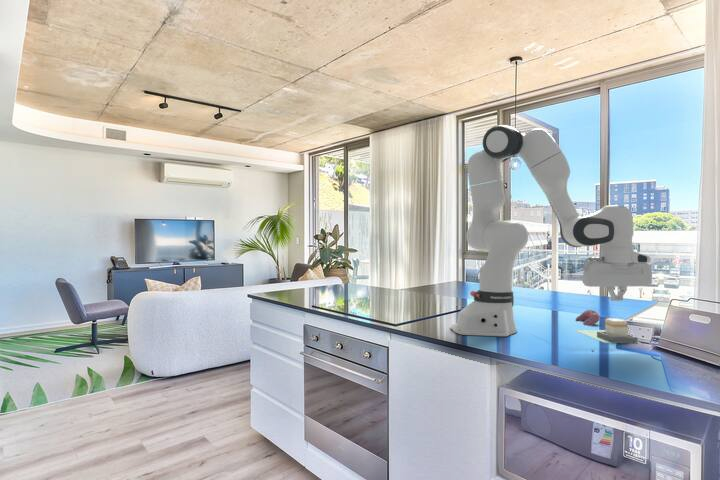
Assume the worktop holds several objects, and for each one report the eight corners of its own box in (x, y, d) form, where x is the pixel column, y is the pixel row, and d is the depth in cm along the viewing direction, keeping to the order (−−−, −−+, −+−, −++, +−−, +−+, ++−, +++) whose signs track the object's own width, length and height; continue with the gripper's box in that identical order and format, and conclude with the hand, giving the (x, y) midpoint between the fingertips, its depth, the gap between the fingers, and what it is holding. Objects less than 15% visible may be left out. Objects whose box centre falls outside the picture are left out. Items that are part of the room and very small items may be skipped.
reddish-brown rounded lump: (595, 332, 149) (604, 315, 148) (582, 326, 150) (592, 309, 149) (585, 326, 159) (593, 310, 158) (573, 321, 159) (582, 305, 159)
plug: (613, 340, 126) (613, 321, 126) (605, 337, 131) (605, 318, 131) (627, 340, 126) (627, 321, 126) (618, 337, 131) (618, 318, 131)
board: (604, 346, 124) (604, 337, 124) (574, 333, 141) (574, 325, 141) (640, 345, 124) (640, 337, 124) (606, 333, 141) (606, 325, 141)
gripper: (589, 257, 125) (589, 302, 125) (655, 257, 125) (655, 302, 125) (578, 256, 131) (578, 299, 131) (641, 256, 131) (641, 299, 132)
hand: (616, 300), depth 128 cm, fingers closed
